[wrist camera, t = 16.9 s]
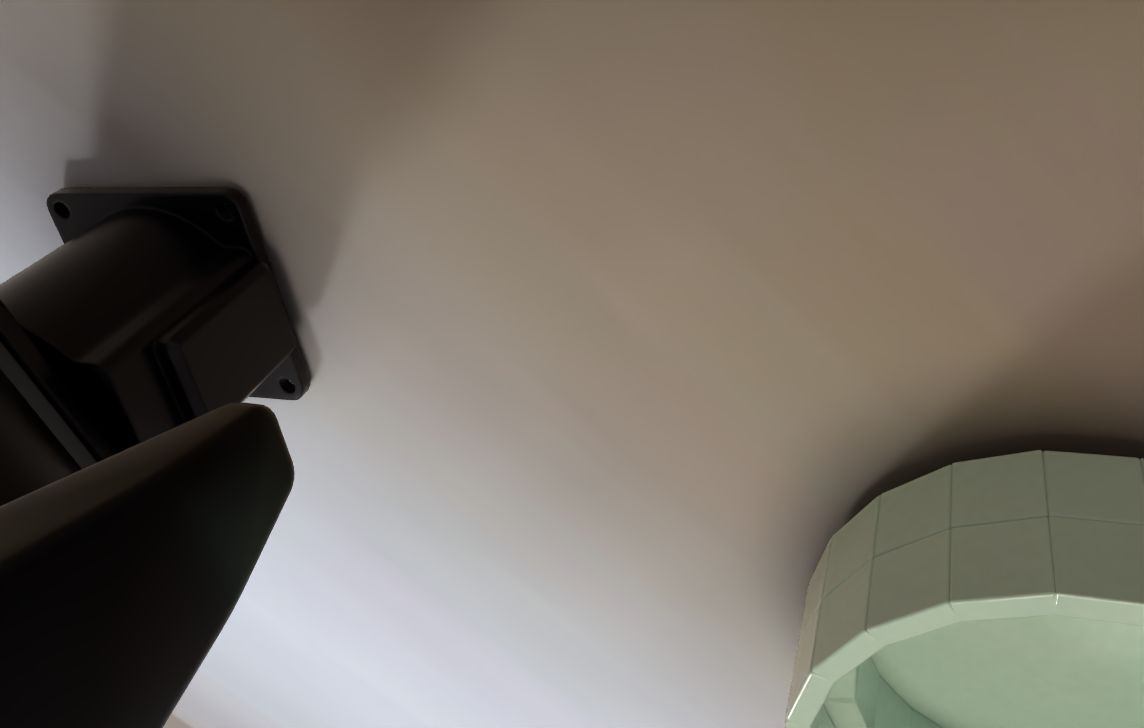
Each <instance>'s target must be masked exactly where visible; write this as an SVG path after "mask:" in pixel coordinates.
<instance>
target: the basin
mask: <svg viewBox="0 0 1144 728" xmlns="http://www.w3.org/2000/svg"><path fill="white" fill-rule="evenodd" d="M785 728H1144V458H1141V459H1139V458H1136V457H1124V456H1111V455H1099V454H1086V453H1073V452H1060V451H1047V450H1046V451H1043V452H1042V451H1041V450H1035V451H1028V452H1022V453H1015V454H1008V455H1002V456H995V457H988V458H982V459H975V460H968V461H962V462H955V463H952V465H947V466H945V467H942V468H940V469H938V470H935V471H933V472H931V473H928V474H926V475H924V476H921V477H919V478H917V479H914V480H912V481H910V482H907V483H905V484H903V485H900V486H898V487H896V488H893V489H891V490H889V491H886V492H884V493H882V494H881V495H878V496H877V497H876V498H875V499H874V500H872V501H871V502H870V503H869V504H868V505H867V506H866V507H864V508H863V509H862V510H861V511H860V512H859V513H858V514H857V515H855V516H854V517H853V518H852V519H851V520H850V521H849V522H847V523H846V524H845V525H844V526H843V527H842V528H841V529H840V530H838V531H837V532H836V533H835V534H834V535H833V536H832V538H831V539H830V540H829V542H828V544H827V546H826V548H825V551H824V553H823V555H822V557H821V559H820V561H819V563H818V565H817V568H816V570H815V572H814V574H813V576H812V578H811V580H810V582H809V585H808V590H807V596H806V602H805V607H804V613H803V619H802V625H801V631H800V636H799V642H798V649H797V653H796V659H795V664H794V670H793V676H792V682H791V687H790V693H789V699H788V705H787V710H786V716H785Z"/></svg>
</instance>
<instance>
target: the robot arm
mask: <svg viewBox="0 0 1144 728" xmlns="http://www.w3.org/2000/svg"><path fill="white" fill-rule="evenodd" d="M225 203H226V204H228V205H229V206H230V207H231V209H232V211H233V213H232V212H231V211H230V210H229V209H228V208H227V206H226V205H225ZM47 207H48V210H49V212H50V214H51V217H52V219H53V221H54V223H55V225H56V227H57V230H58V232H59V234H60V236H61V238H62V240H63V242H64V245H62V246H61V247H59V248H57V249H56V250H54V251H53V252H51V253H50V254H48V255H46V256H45V257H43V258H42V259H40V260H39V261H37V262H35V263H34V264H32V265H31V266H29V267H27V268H26V269H24V270H23V271H21V272H20V273H18V274H16V275H15V276H13V277H12V278H10V279H9V280H7V281H5V282H4V283H2V284H1V285H0V728H163V726H164V725H165V723H166V721H167V720H168V718H169V716H170V715H171V713H172V711H173V710H174V708H175V706H176V705H177V703H178V702H179V700H180V698H181V697H182V695H183V693H184V692H185V690H186V688H187V687H188V685H189V683H190V682H191V680H192V678H193V677H194V675H195V673H196V672H197V670H198V668H199V667H200V665H201V663H202V662H203V660H204V659H205V657H206V655H207V654H208V652H209V650H210V649H211V647H212V645H213V644H214V642H215V640H216V639H217V637H218V635H219V634H220V632H221V630H222V629H223V627H224V625H225V623H226V622H227V620H228V618H229V616H230V615H231V613H232V611H233V609H234V607H235V605H236V603H237V601H238V599H239V598H240V596H241V594H242V592H243V590H244V588H245V585H246V583H247V581H248V579H249V577H250V575H251V573H252V571H253V569H254V567H255V565H256V562H257V560H258V558H259V556H260V554H261V552H262V550H263V548H264V546H265V544H266V542H267V539H268V537H269V535H270V533H271V531H272V529H273V527H274V525H275V523H276V521H277V519H278V516H279V514H280V512H281V510H282V508H283V506H284V504H285V502H286V500H287V498H288V496H289V493H290V491H291V489H292V486H293V481H294V466H293V462H292V459H291V457H290V454H289V451H288V448H287V446H286V443H285V440H284V437H283V435H282V432H281V429H280V426H279V424H278V421H277V418H276V416H275V414H274V413H273V412H272V411H271V409H270V408H268V407H266V406H264V405H259V404H250V403H242V402H243V401H244V400H245V399H246V398H247V397H260V398H272V399H285V400H298V399H299V398H301V397H302V396H303V395H304V393H305V392H306V391H307V390H308V389H309V387H310V380H309V377H308V374H307V371H306V368H305V365H304V362H303V359H302V356H301V353H300V350H299V348H298V345H297V342H296V339H295V336H294V333H293V330H292V327H291V324H290V321H289V318H288V316H287V313H286V310H285V307H284V304H283V301H282V298H281V295H280V292H279V289H278V286H277V284H276V281H275V278H274V275H273V272H272V269H271V266H270V263H269V260H268V257H267V254H266V252H265V249H264V246H263V243H262V240H261V237H260V234H259V231H258V228H257V225H256V222H255V219H254V217H253V214H252V211H251V208H250V205H249V203H248V201H247V199H246V197H245V196H244V195H243V194H242V193H241V192H239V191H238V190H236V189H234V188H230V187H125V188H63V189H60V190H58V191H56V192H55V193H53V194H51V195H50V196H49V197H48V198H47ZM289 380H290V381H291V382H292V383H293V384H292V383H291V382H290V381H289Z"/></svg>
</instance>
